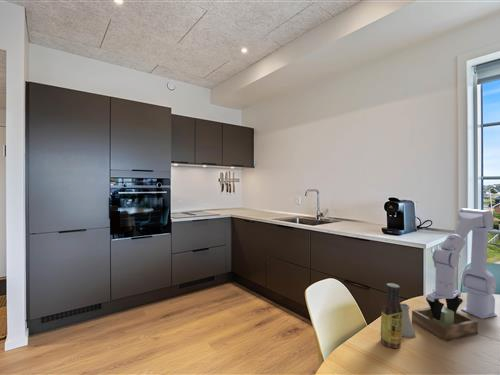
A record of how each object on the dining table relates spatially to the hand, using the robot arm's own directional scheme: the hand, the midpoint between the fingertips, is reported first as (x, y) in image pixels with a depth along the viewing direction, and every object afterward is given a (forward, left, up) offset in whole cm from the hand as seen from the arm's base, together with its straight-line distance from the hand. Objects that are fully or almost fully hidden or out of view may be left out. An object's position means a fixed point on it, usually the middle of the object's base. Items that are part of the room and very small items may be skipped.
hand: (443, 317), depth 98 cm
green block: (0, 0, -3) cm, 3 cm away
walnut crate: (0, 0, -4) cm, 4 cm away
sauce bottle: (+27, +2, -4) cm, 27 cm away
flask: (+17, -2, -4) cm, 18 cm away
